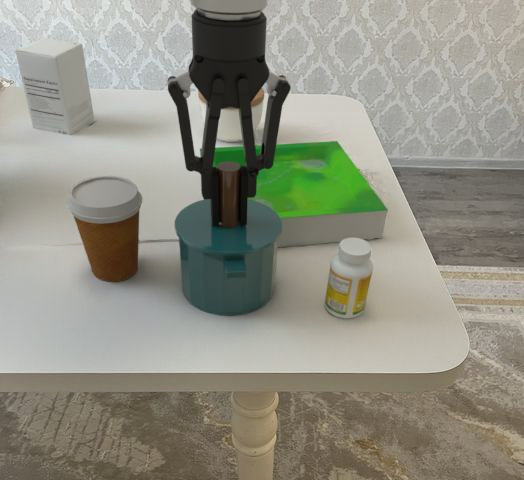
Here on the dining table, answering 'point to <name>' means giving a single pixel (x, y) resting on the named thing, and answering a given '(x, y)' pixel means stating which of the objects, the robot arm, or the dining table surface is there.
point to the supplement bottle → (349, 278)
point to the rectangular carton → (56, 85)
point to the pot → (228, 280)
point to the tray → (314, 193)
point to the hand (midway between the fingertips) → (228, 219)
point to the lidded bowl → (234, 118)
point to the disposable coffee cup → (108, 224)
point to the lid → (228, 220)
